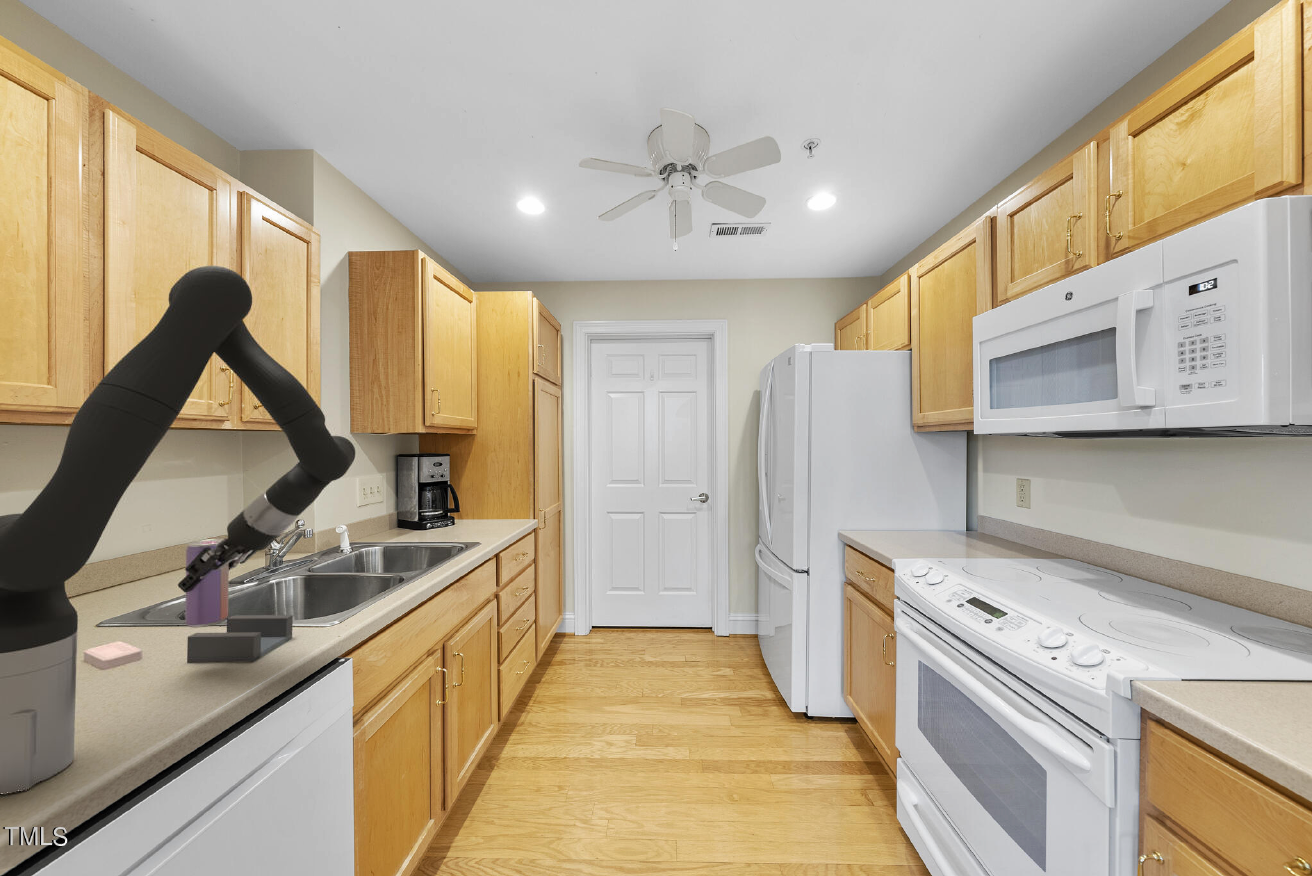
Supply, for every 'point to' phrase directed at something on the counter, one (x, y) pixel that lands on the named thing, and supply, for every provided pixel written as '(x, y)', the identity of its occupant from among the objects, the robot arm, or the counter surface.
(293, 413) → the robot arm
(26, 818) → the counter surface
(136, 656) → the soap bar
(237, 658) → the duct channel
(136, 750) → the counter surface
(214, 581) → the beverage can
